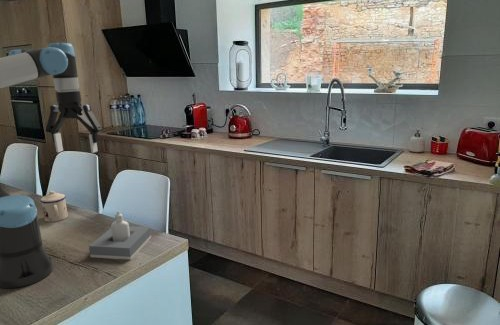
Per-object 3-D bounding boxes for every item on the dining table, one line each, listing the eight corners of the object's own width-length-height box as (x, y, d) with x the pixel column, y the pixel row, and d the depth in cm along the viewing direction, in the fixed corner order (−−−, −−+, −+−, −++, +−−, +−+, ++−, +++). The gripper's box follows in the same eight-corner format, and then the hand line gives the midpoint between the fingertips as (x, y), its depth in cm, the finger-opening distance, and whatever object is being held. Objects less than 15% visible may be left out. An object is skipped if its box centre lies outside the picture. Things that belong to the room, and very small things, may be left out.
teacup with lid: (43, 217, 159) (38, 190, 156) (67, 212, 164) (62, 186, 161) (45, 227, 149) (40, 198, 146) (70, 221, 154) (66, 194, 151)
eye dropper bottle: (121, 239, 134) (117, 207, 131) (133, 243, 131) (129, 210, 128) (111, 244, 130) (107, 211, 127) (122, 248, 127) (118, 214, 124)
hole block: (130, 259, 122) (129, 248, 121) (90, 257, 124) (88, 246, 123) (151, 237, 137) (150, 227, 136) (115, 235, 140) (113, 225, 139)
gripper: (107, 89, 131) (115, 149, 137) (42, 90, 136) (52, 148, 141) (95, 91, 124) (103, 154, 130) (27, 92, 129) (38, 153, 134)
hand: (77, 151), depth 136 cm, fingers open, 13 cm apart
